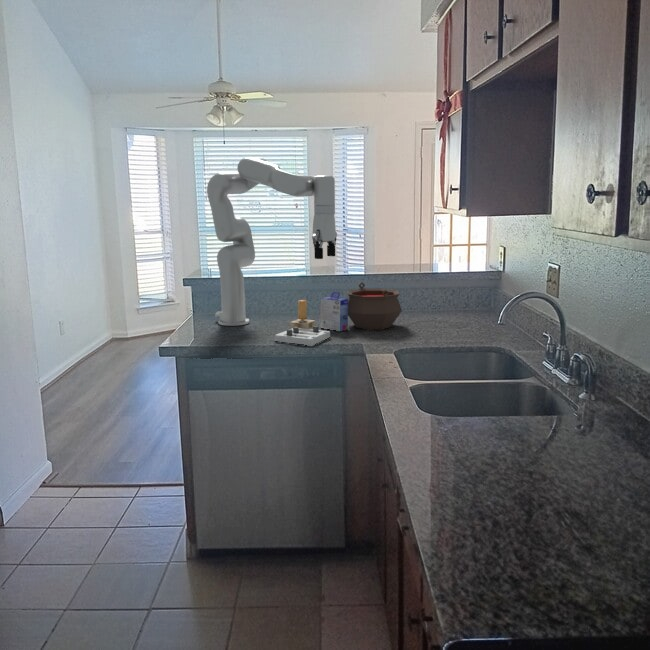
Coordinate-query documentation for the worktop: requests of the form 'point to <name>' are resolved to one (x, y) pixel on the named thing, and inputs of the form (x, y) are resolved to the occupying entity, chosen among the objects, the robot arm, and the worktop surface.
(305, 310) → the tan rounded cylinder
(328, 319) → the ink cartridge box
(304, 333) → the switch bank
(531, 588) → the worktop surface
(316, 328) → the tab
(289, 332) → the tab
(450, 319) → the worktop surface
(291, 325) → the stand
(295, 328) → the tab
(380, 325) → the brown cauldron pot
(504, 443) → the worktop surface
